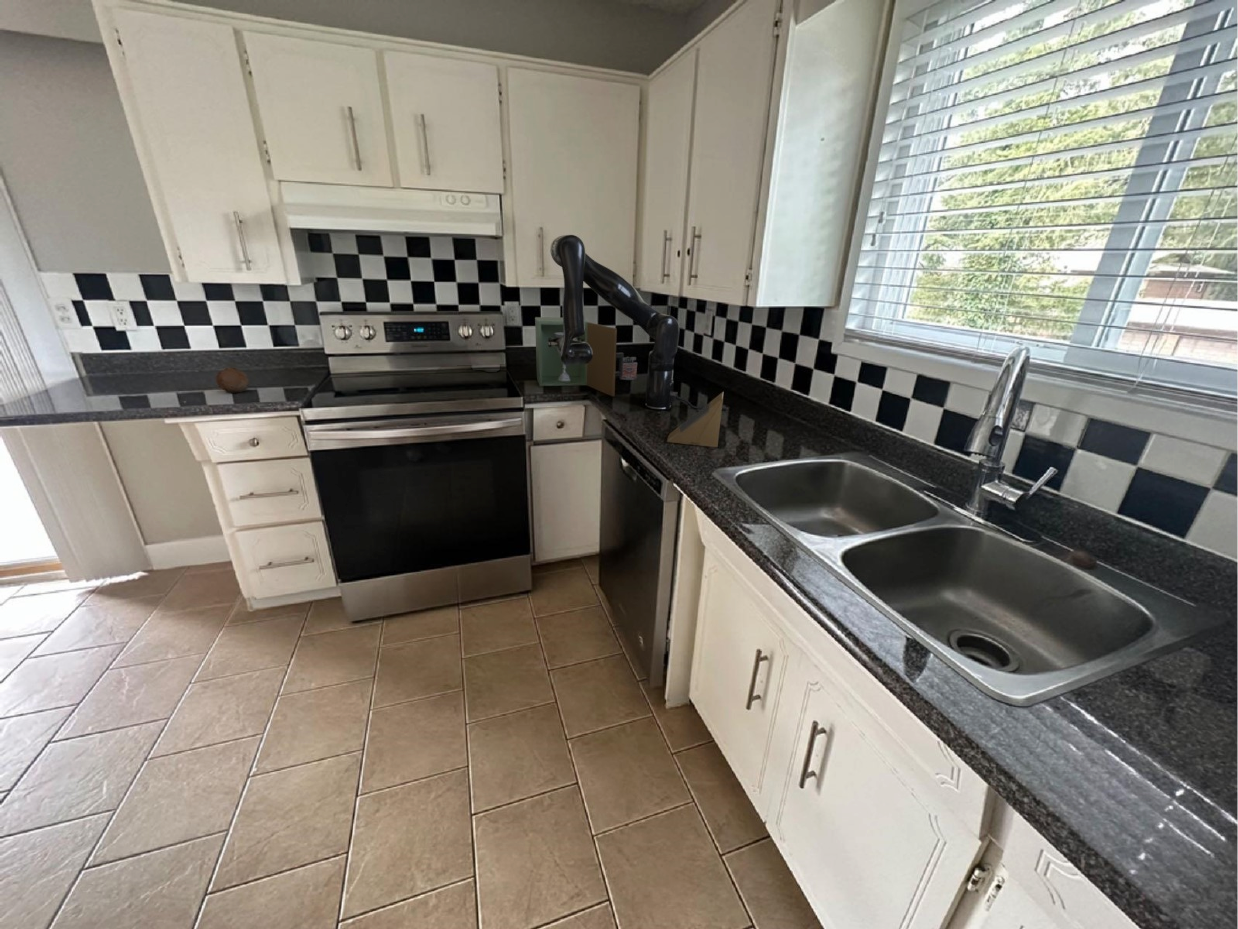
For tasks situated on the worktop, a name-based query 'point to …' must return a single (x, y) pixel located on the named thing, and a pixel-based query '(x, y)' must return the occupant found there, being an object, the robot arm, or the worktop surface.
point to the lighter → (629, 369)
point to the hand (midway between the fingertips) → (563, 339)
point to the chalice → (562, 376)
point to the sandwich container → (701, 426)
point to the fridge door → (603, 358)
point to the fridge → (555, 355)
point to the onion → (232, 380)
